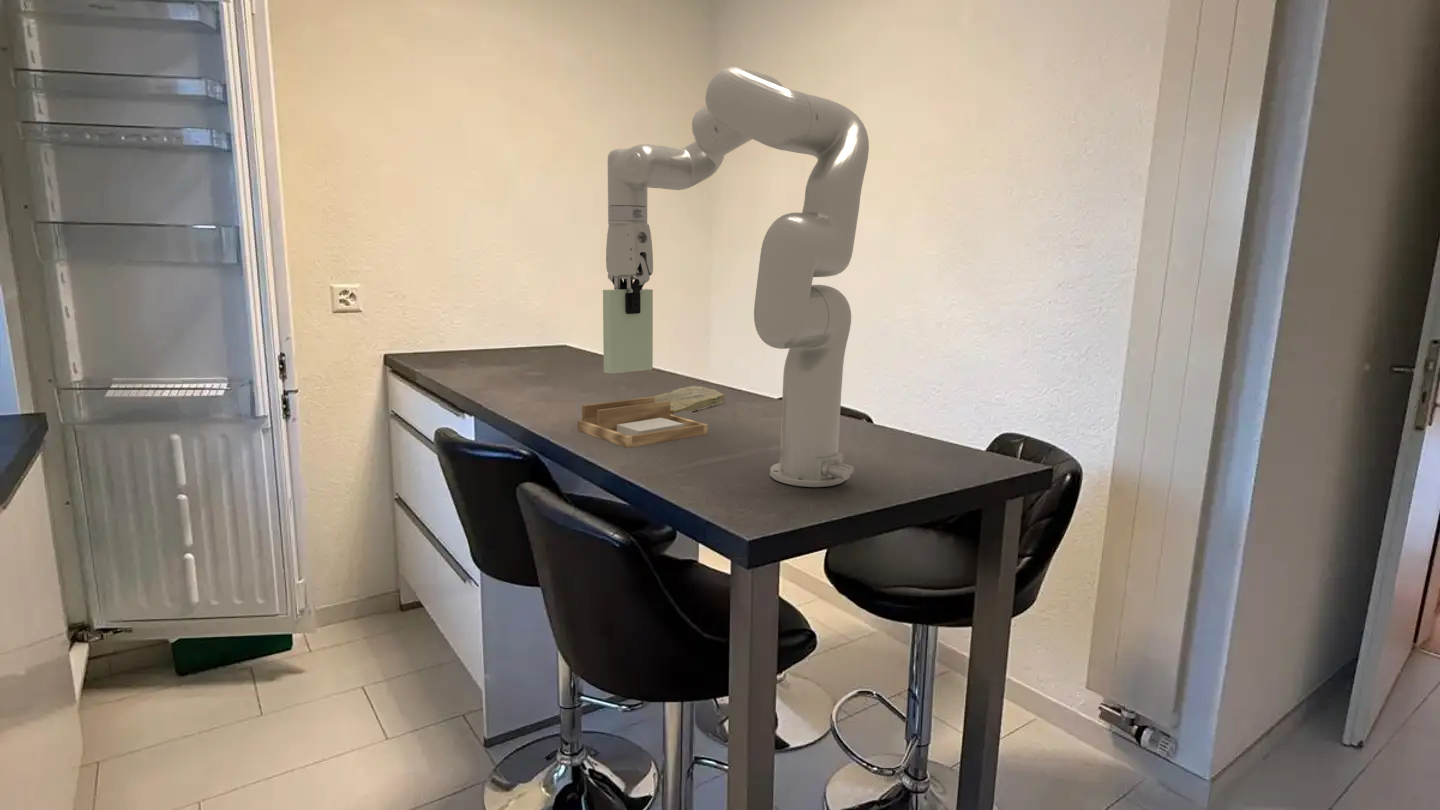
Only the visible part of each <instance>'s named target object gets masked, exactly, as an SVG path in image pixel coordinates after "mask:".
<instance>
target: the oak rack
mask: <svg viewBox="0 0 1440 810" xmlns="http://www.w3.org/2000/svg"><path fill="white" fill-rule="evenodd" d="M670 407H671V401H661V402H655V397H653V396H645V397H644V396H643V397H637V398H630V399H622V400H613V401H607V402H606V401H605V402H598V403H597V402H596V403H591V404H590V403H589V404H584V405H583V404H582V405H581V420H577V431H578V432H580V433H584V434H587V435H590V436H593V437H596V438H599V439H600V440H601V439H602V440H605V441H607V442H610V443H613V444H615V445H617V446H621V447H624V448H627V449H628V448H629V449H630V448H635V447H640V446H641V447H643V446H646V445H652V444H658V443H664V442H670V441H676V440H681V439H688V438H693V437H698V436H705V435H709V434H708V429H709V428H708V426H709V425H708V424H707V423H703V422H700V421H697V420H694V419H693V420H692V419H690V418H685V417H681V416H678V415H675V414H670ZM655 418H664V419H668V420H672V421H676V422H679V423H683V424H684V427H681V428H675V429H668V430H662V431H656V432H650V433H644V434H637V435H631V436H628V435H625V434H622V433H619V432H617V425H618V424H624V423H630V422H637V421H643V420H649V419H655Z"/></svg>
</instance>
